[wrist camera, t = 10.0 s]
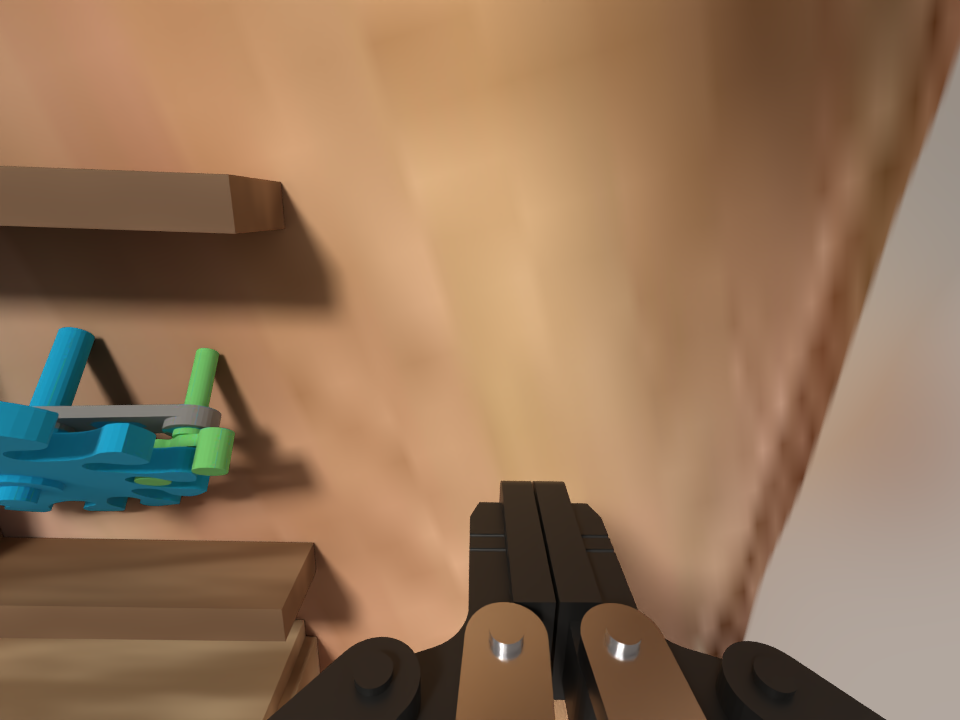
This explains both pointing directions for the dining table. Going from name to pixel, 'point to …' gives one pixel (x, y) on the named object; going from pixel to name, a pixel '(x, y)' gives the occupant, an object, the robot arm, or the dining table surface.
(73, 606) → the cradle
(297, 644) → the wooden tray
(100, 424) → the gear
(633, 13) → the dining table surface
